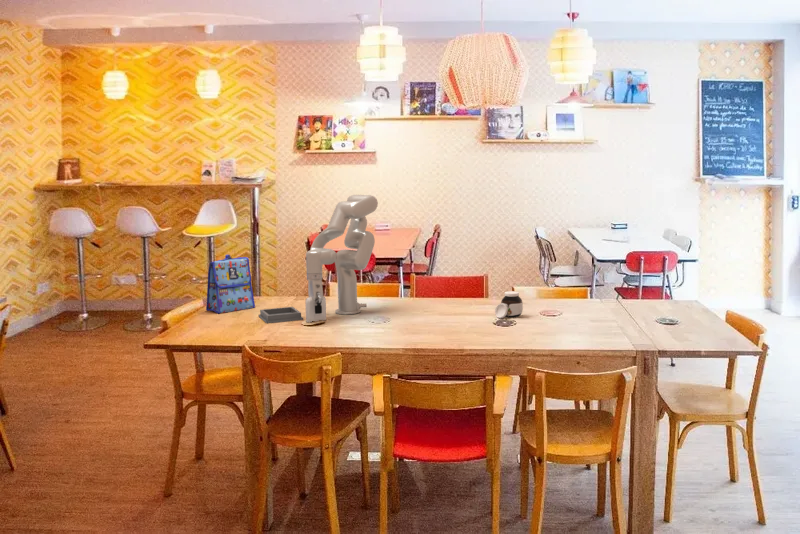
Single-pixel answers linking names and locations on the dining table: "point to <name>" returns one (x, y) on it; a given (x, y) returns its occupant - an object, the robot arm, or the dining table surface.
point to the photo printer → (311, 310)
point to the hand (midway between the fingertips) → (315, 311)
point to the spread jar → (510, 305)
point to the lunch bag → (229, 285)
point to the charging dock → (280, 315)
